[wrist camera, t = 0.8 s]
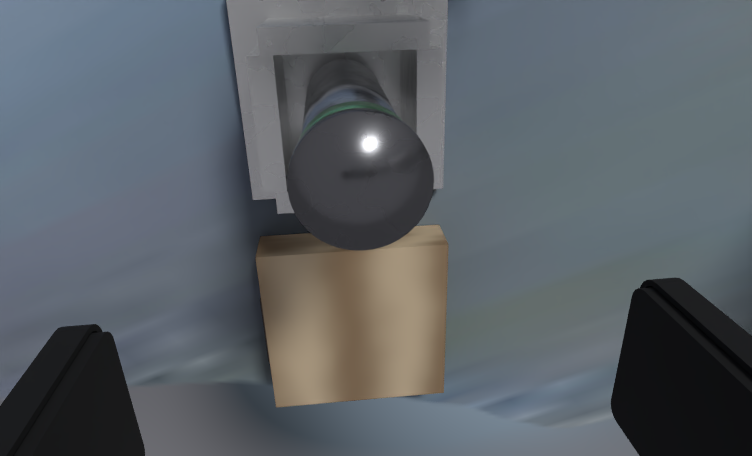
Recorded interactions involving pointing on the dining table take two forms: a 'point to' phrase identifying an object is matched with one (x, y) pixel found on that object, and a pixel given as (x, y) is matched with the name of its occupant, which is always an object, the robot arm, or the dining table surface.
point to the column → (356, 163)
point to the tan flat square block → (354, 317)
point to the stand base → (320, 46)
